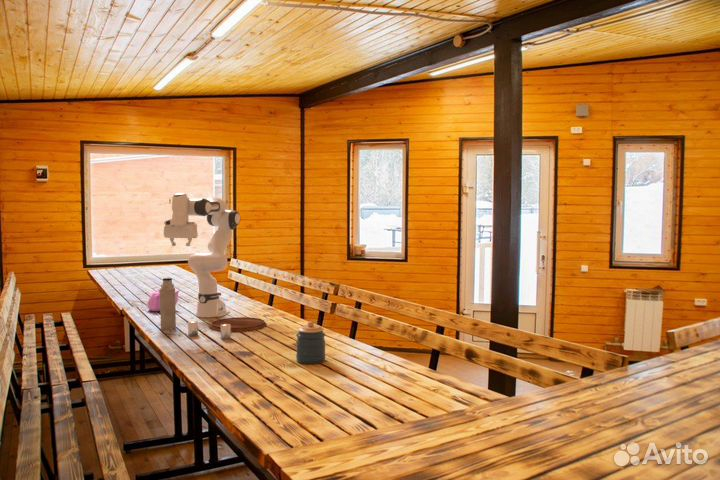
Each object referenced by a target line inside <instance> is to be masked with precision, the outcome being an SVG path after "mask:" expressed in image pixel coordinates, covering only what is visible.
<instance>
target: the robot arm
mask: <svg viewBox="0 0 720 480" xmlns="http://www.w3.org/2000/svg"><path fill="white" fill-rule="evenodd" d="M171 210H172V216H171V218H169V219H168V220H167V219H166V220H165V221H164V227H163V237H164V238H167V239H169V241H170V243H171V246H173V247H175V246H176V245H177V244H176V242H175V239H187V242H186V244H185V246H186V247H190V246H191V243H192V241H193V239H197V238H198V236H199V235H198V225H197V223H196V222H195V221H189V216H192V217H195V216H197V217H198V216H199V217H206V221H207V223H208V225H209V226H212V227H218V228H217V230H216V231H215V232H214V233H213V235H212V237H211V238H210V240H209V241H208V244H207V250H208V251H209V253H208V252H207V253H205V252H203V253H202V252H198V253H192V254H191V255H190V256H189V257H188V260H187V265H188V267H189V268H190V269H191V270H192V271H193V273H194V274H195V276H196V279H197V281H198V295H197V298H198V301H197V302H196V303H197V305H196V312H195V316H196V317H198V318H217V317H220V318H221V317H223V316H225V315H228V314H229V313H230V310H228V309H227V308H226V307H227V306H226V303H225V302H224V301H223V300H221V299H220V296H222V292H218V280H217V278H216V277H214V276H213V275H212V274H211V272H221V271H225V269H226V268H227V267H228V259H227V257H226V255H225V251H226V250H227V247H228V246H229V244H230V242H231V239H232V235H233V231H234V230H235V229H236V228H237V227H238V226H239V225H240V222H241V214H240V212H239V211H237V210H234V209H231V210H230V209H227V202H226V200H224V199H223V198H221V197H214V196H213V197H206V198H189V197H188V195H187V193H185V192H178V193H175V194H173V195H172V198H171Z"/></svg>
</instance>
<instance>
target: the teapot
mask: <svg viewBox="0 0 720 480" xmlns="http://www.w3.org/2000/svg"><path fill="white" fill-rule="evenodd" d="M179 292H181V289H180V290H175V305H176V304H177V303H178V301H179ZM146 306H147V308H148V309H149V311H152V312H160V288H158V291H154V292H152V293H151V295H150V297H149V299H148V300H147V305H146Z"/></svg>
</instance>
